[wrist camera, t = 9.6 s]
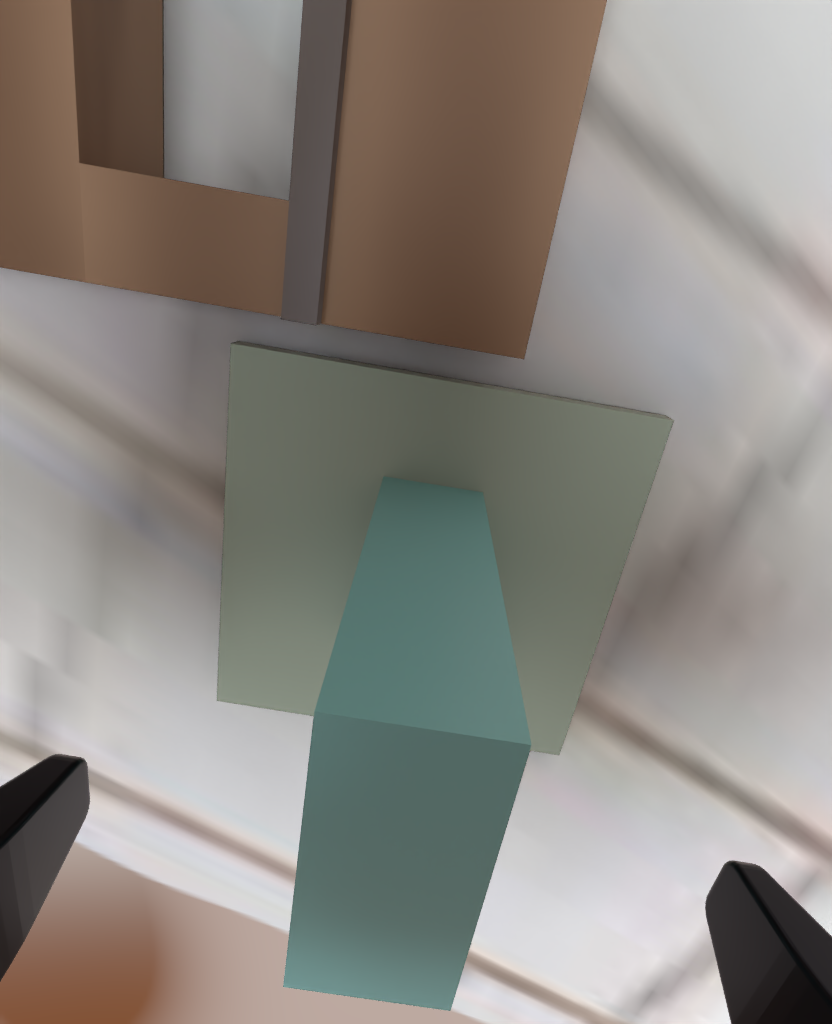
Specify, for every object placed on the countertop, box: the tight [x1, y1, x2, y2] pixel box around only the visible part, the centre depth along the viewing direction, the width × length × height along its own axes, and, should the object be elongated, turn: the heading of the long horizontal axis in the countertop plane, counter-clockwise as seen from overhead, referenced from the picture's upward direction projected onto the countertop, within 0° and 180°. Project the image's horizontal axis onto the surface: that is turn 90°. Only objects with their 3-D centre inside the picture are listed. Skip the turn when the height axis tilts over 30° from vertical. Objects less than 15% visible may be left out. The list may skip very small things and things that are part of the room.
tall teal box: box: [283, 476, 531, 1011], centre depth 11 cm, size 2×5×8 cm, turn 171°
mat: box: [217, 341, 674, 755], centre depth 15 cm, size 10×10×1 cm
